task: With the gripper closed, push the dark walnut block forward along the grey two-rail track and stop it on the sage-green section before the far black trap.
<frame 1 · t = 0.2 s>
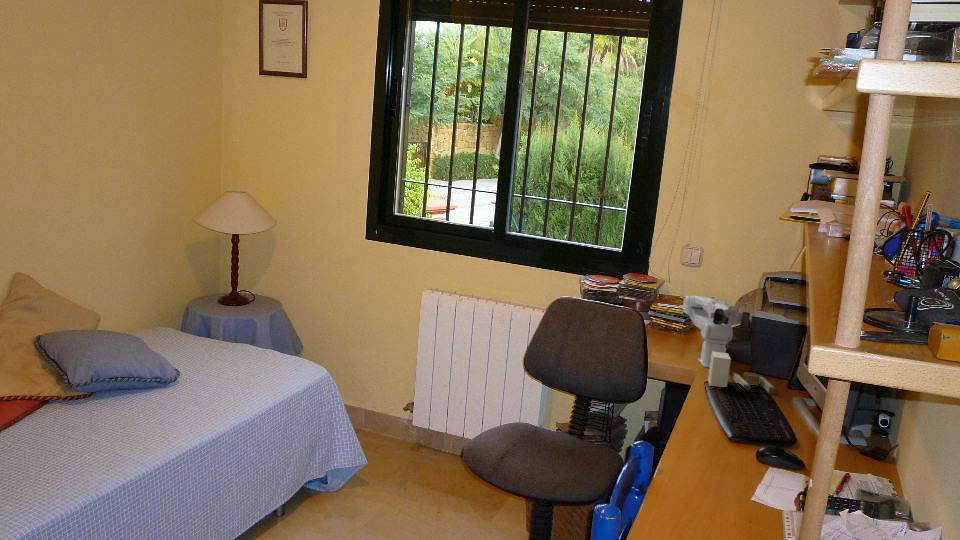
hand: (738, 322, 271), 21 cm above the table, tool horizontal, fingers open, 7 cm apart
rail track: (752, 386, 272), on the table
small box: (716, 385, 270), on the table
walnut block: (750, 384, 275), on the table
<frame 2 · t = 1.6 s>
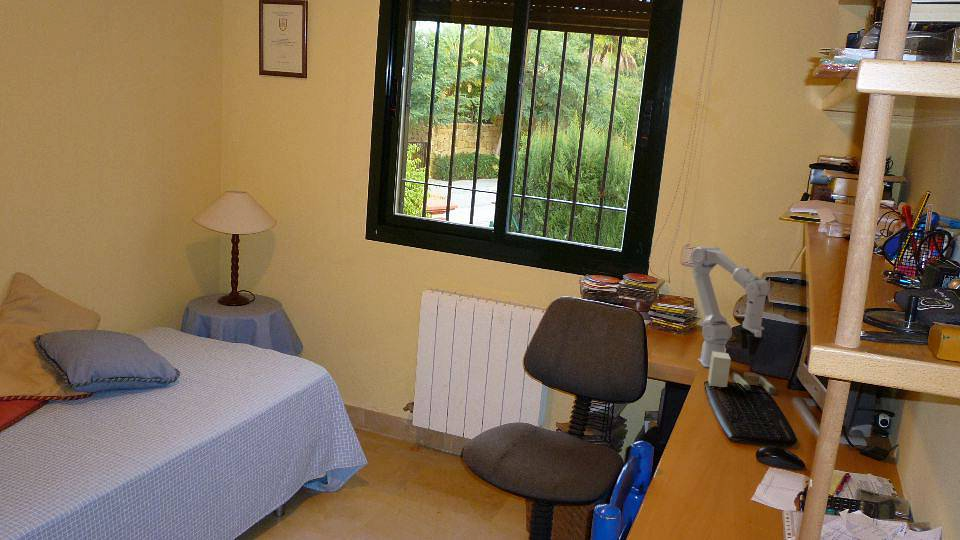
hand: (748, 351, 280), 9 cm above the table, tool pointing down, fingers open, 7 cm apart
nothing on the table moved.
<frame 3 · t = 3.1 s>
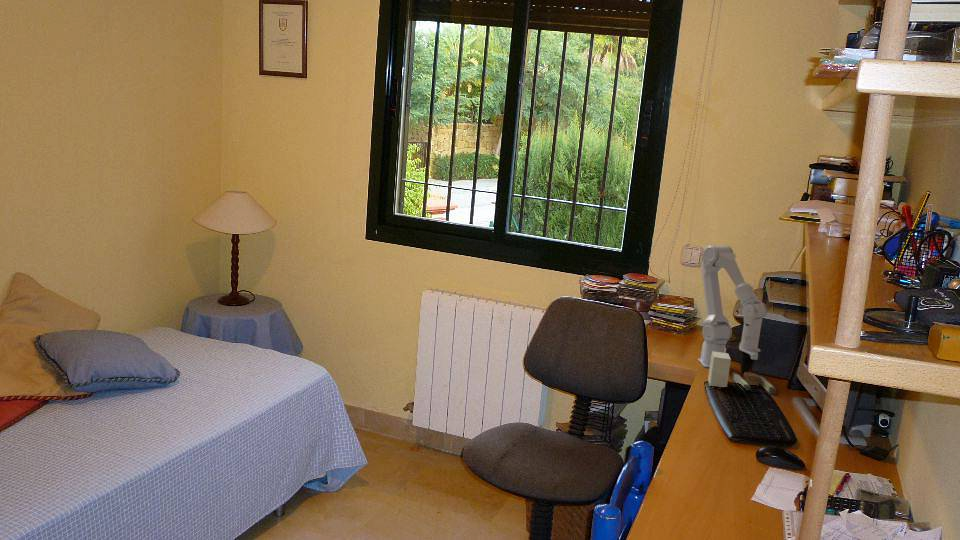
hand: (744, 373, 281), 1 cm above the table, tool pointing down, fingers closed
nothing on the table moved.
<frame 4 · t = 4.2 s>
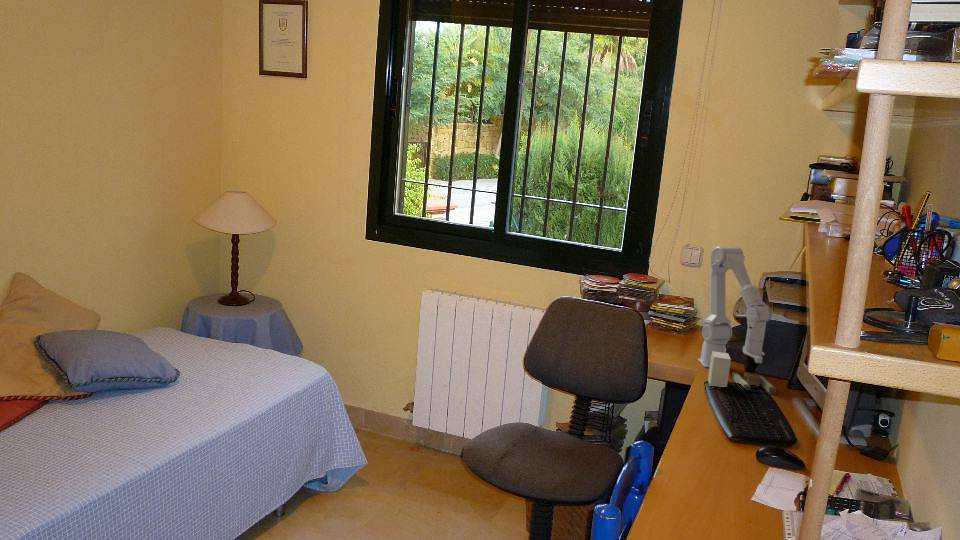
hand: (748, 377, 277), 1 cm above the table, tool pointing down, fingers closed
walnut block: (750, 384, 274), on the table, touching gripper
everything else where it was.
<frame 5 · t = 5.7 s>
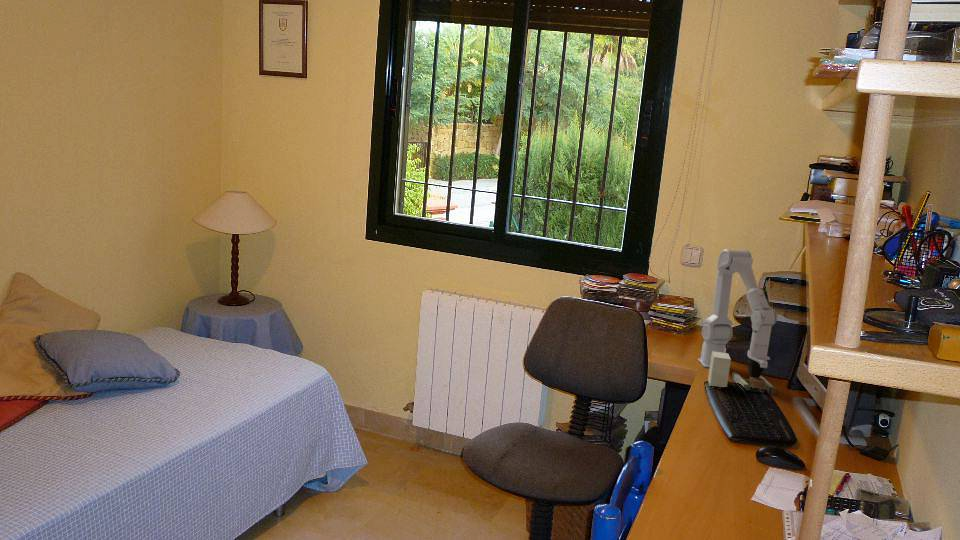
hand: (753, 382, 272), 1 cm above the table, tool pointing down, fingers closed
walnut block: (756, 389, 269), on the table, touching gripper
everything else where it was.
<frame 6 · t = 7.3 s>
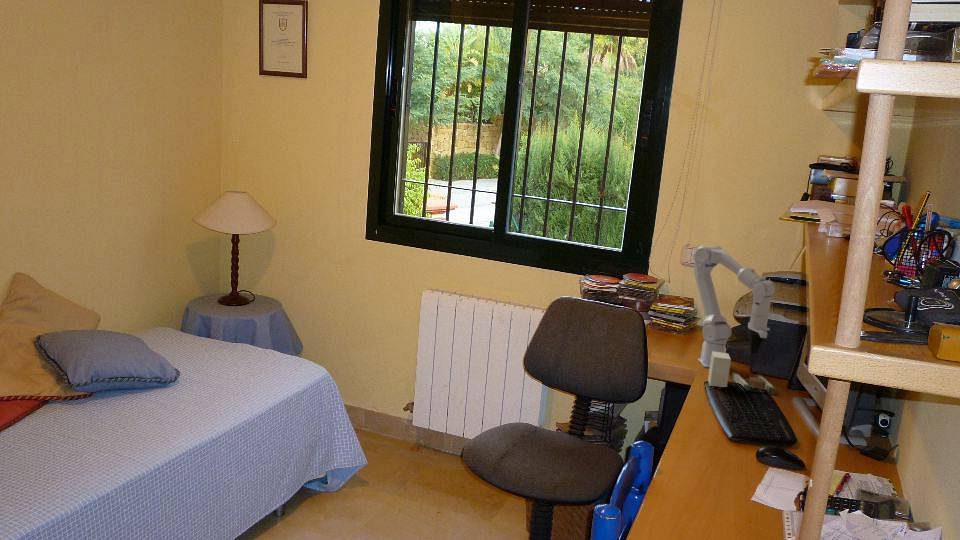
hand: (753, 352, 280), 9 cm above the table, tool pointing down, fingers closed
walnut block: (756, 389, 269), on the table
everything else where it was.
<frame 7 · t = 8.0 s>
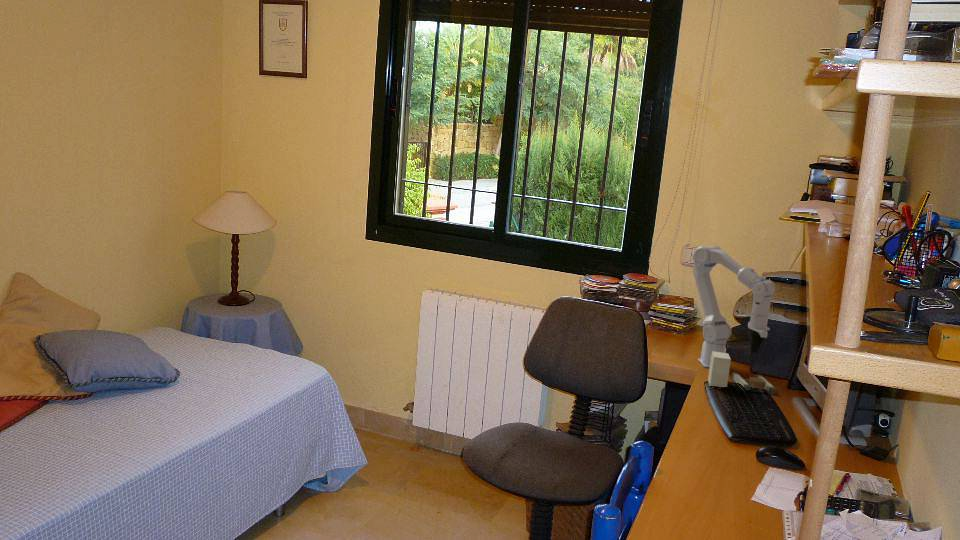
hand: (753, 352, 280), 9 cm above the table, tool pointing down, fingers closed
nothing on the table moved.
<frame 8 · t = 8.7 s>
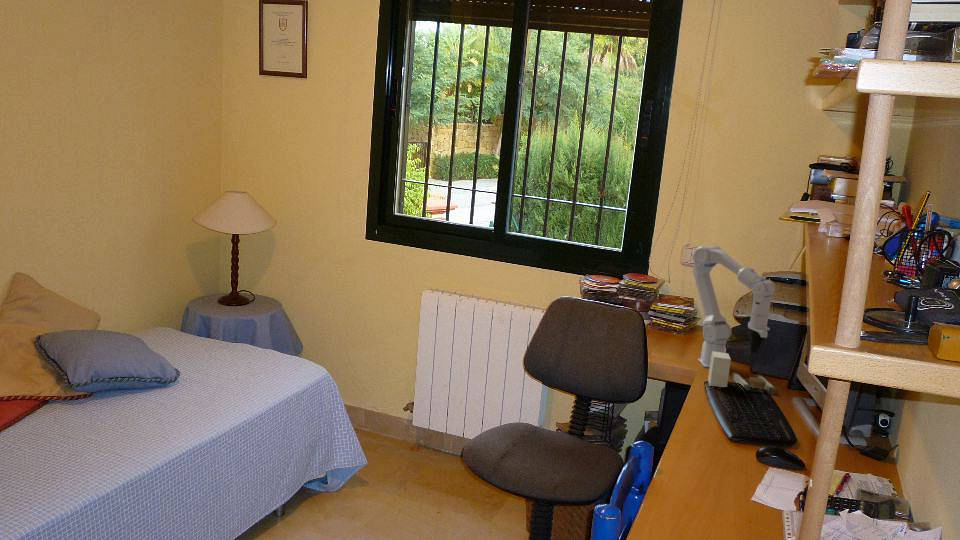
hand: (753, 352, 280), 9 cm above the table, tool pointing down, fingers closed
nothing on the table moved.
at the end: walnut block 0.3 cm from the target spot, on the table; walnut block tilted 0°; the gripper is holding nothing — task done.
